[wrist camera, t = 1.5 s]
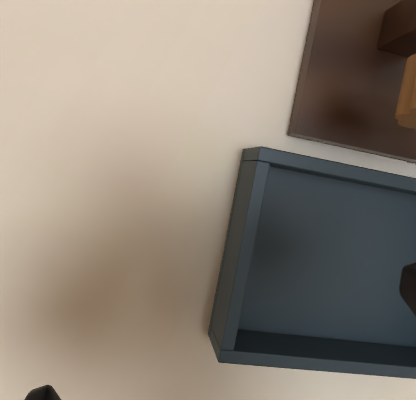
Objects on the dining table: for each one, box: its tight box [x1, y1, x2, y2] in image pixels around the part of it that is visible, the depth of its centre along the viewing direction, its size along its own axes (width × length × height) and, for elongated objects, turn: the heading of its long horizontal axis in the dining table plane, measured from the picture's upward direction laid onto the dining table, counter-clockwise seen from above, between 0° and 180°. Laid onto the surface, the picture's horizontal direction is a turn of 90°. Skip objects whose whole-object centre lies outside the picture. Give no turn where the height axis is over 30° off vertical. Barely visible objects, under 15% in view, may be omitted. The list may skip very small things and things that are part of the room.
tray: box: [208, 147, 416, 379], centre depth 23 cm, size 13×17×4 cm
